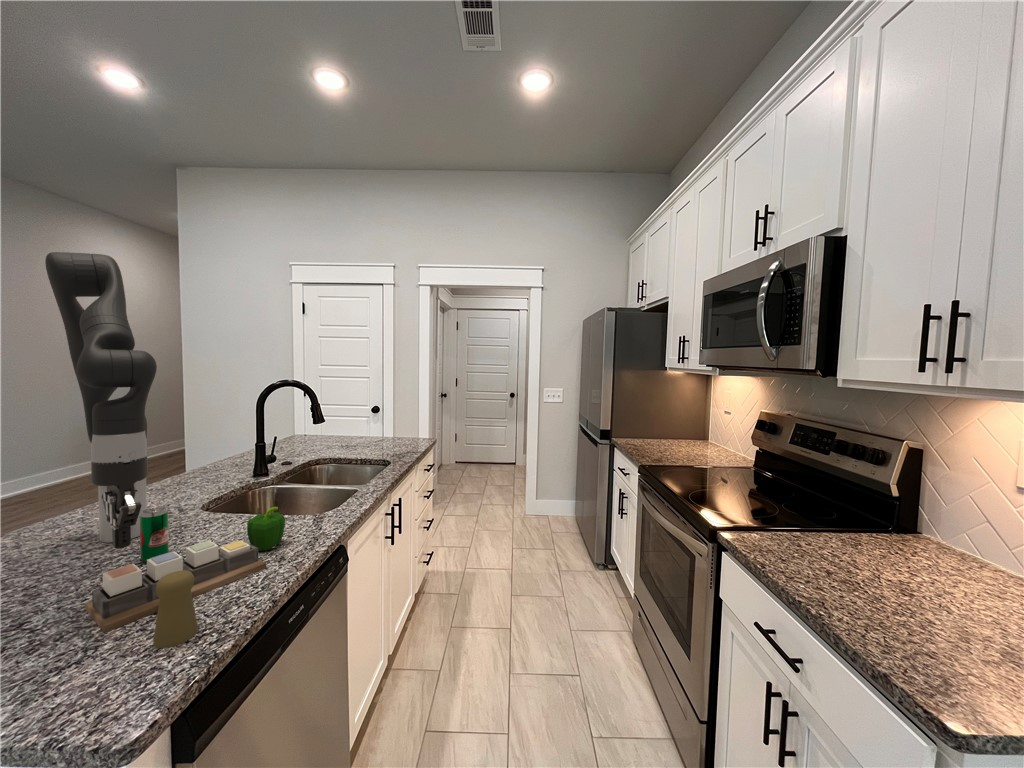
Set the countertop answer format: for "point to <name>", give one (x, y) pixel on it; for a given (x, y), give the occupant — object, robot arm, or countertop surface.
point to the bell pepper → (266, 529)
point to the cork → (175, 610)
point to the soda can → (153, 533)
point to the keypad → (146, 601)
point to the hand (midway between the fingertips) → (121, 546)
